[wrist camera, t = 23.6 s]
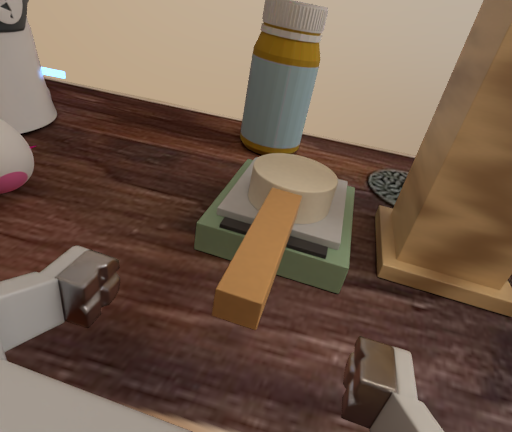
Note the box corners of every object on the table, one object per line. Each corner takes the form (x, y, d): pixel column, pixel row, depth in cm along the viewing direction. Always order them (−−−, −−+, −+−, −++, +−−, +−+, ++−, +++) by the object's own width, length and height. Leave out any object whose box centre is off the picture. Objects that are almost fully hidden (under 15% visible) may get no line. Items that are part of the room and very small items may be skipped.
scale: (193, 249, 25) (197, 214, 23) (244, 179, 35) (249, 152, 33) (338, 294, 23) (352, 260, 22) (347, 208, 33) (357, 181, 32)
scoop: (167, 312, 16) (170, 270, 15) (259, 175, 30) (265, 146, 28) (298, 357, 15) (312, 316, 14) (331, 194, 29) (341, 166, 27)
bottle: (245, 156, 39) (271, -3, 31) (234, 133, 45) (255, -7, 37) (305, 161, 41) (344, 11, 33) (287, 137, 47) (318, 5, 39)
